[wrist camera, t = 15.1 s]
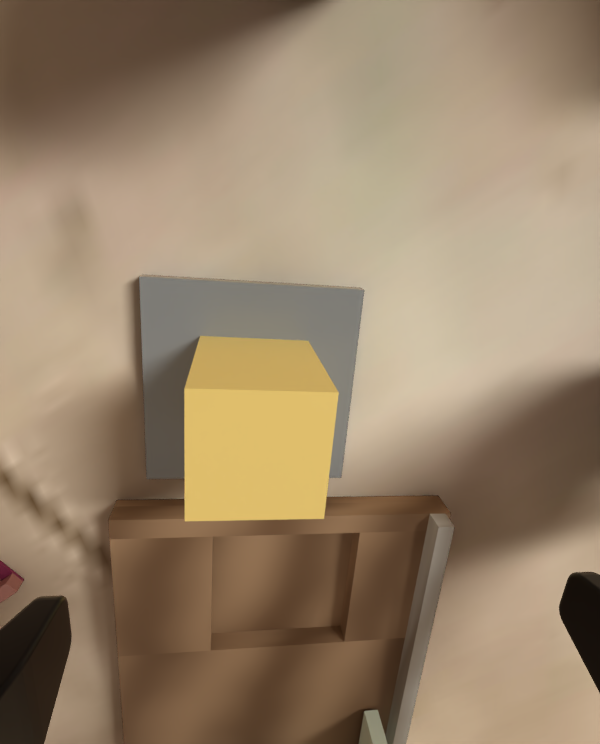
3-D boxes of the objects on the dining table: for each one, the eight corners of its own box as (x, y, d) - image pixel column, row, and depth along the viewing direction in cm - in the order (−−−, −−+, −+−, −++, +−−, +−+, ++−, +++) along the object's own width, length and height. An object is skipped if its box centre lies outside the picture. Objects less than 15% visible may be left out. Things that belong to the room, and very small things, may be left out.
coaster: (360, 287, 19) (364, 289, 19) (338, 471, 22) (341, 477, 21) (142, 274, 18) (139, 276, 17) (149, 471, 21) (146, 479, 20)
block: (308, 340, 19) (339, 392, 13) (299, 435, 20) (324, 518, 15) (200, 335, 18) (184, 388, 13) (199, 434, 20) (184, 521, 14)
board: (437, 495, 23) (460, 526, 21) (391, 721, 29) (405, 766, 26) (116, 500, 21) (101, 535, 19) (132, 746, 26) (122, 798, 24)
